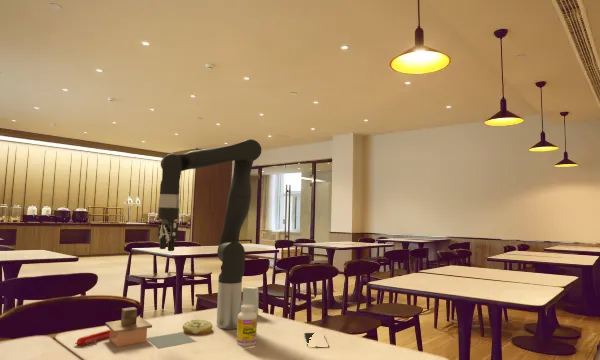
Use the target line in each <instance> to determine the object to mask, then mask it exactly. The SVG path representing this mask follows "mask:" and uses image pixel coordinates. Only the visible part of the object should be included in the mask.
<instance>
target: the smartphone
mask: <svg viewBox="0 0 600 360" xmlns="http://www.w3.org/2000/svg"><path fill="white" fill-rule="evenodd" d="M314 333H315V332H305V333H303V336H304V335H305V336H304V339H306V340H305V343H306V342H307V343H309V340H311V339H309V338H310V337H312V335H313V334H314ZM307 346H308V344H306V347H307Z"/></svg>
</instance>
